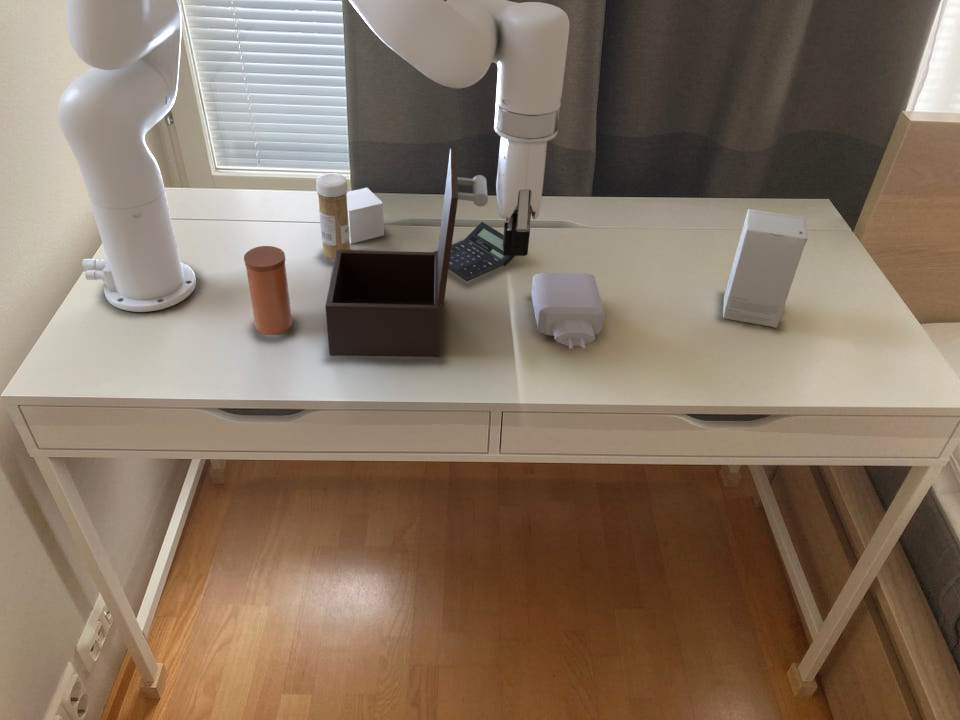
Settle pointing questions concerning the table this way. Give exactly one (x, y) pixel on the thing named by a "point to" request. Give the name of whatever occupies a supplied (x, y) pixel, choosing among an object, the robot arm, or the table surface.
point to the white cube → (364, 215)
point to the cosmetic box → (764, 267)
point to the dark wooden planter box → (383, 304)
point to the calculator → (478, 253)
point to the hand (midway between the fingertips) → (514, 252)
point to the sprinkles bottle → (333, 213)
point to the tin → (268, 289)
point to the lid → (454, 216)
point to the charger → (567, 307)
